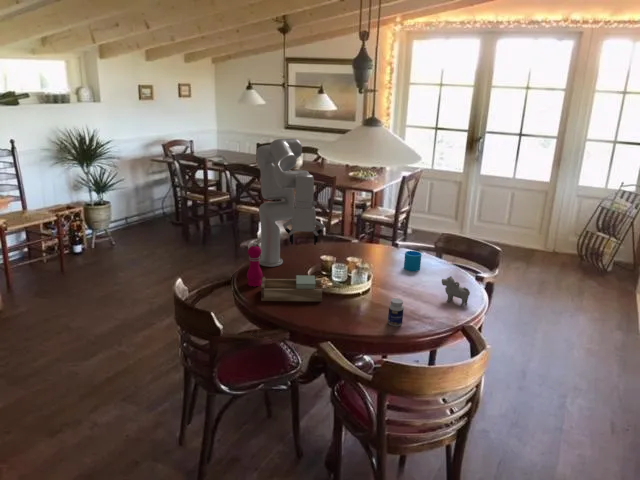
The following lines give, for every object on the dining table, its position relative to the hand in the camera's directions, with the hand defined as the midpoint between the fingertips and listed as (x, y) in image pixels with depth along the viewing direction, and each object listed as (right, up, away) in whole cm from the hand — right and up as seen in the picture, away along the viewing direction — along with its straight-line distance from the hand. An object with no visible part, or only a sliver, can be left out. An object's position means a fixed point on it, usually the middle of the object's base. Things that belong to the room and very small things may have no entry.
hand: (303, 243), depth 221 cm
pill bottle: (+37, -32, -13) cm, 50 cm away
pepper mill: (-23, -19, +20) cm, 36 cm away
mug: (+54, -12, +47) cm, 73 cm away
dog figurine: (+66, -26, +9) cm, 71 cm away
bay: (-5, -23, +10) cm, 25 cm away
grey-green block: (+1, -22, +10) cm, 24 cm away
